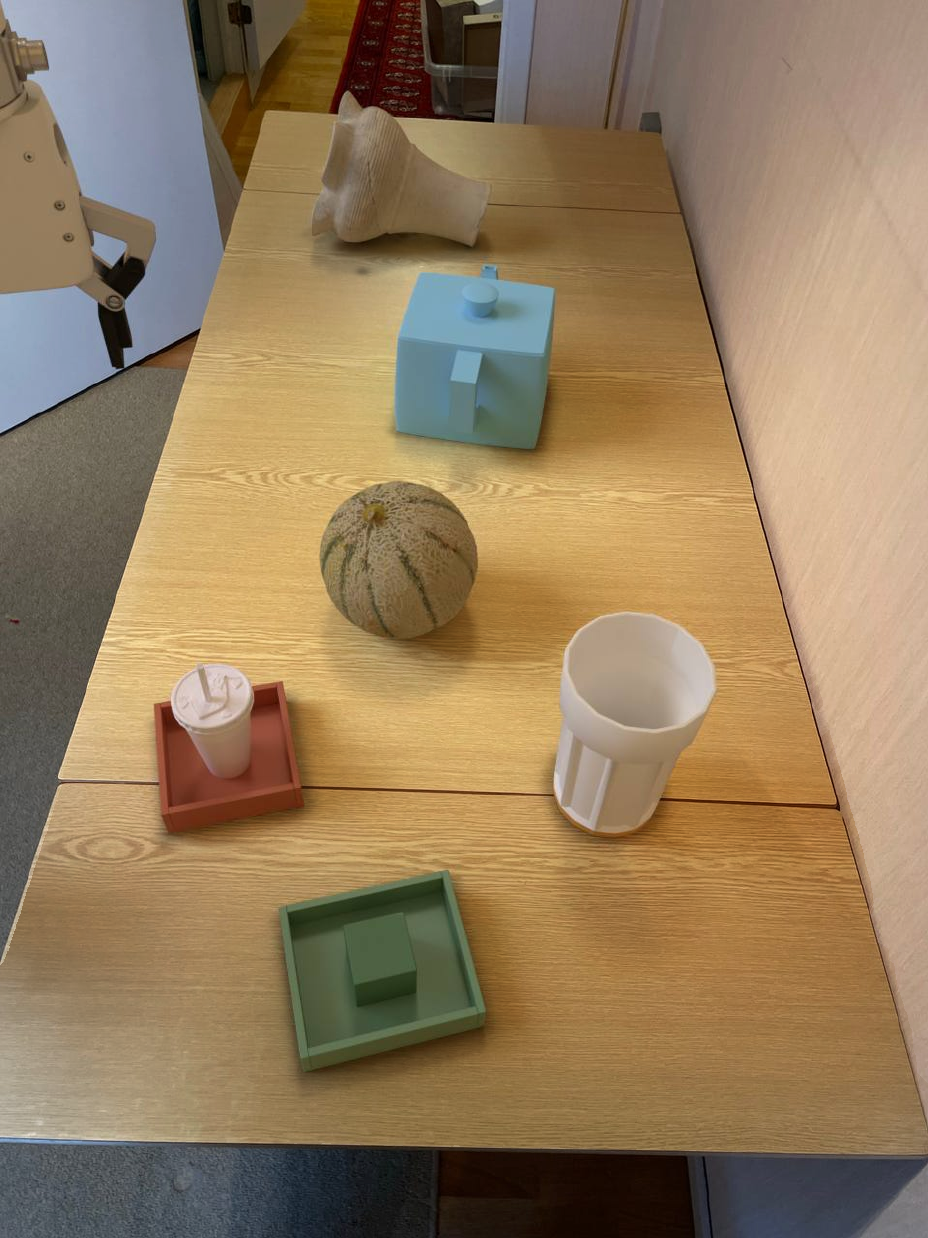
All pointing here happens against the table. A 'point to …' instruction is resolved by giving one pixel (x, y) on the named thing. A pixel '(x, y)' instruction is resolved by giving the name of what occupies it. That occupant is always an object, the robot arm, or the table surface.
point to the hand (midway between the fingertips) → (38, 365)
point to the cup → (627, 718)
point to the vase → (391, 184)
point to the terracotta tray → (214, 800)
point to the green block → (380, 959)
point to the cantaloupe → (398, 559)
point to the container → (474, 359)
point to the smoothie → (216, 716)
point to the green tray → (326, 986)
